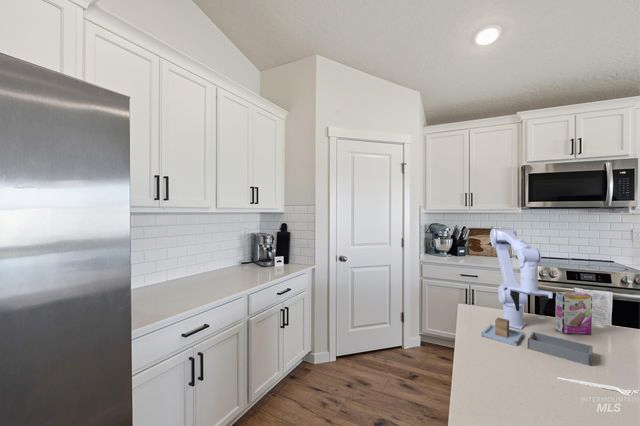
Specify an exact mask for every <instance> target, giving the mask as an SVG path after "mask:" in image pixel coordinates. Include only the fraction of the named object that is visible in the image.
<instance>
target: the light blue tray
mask: <svg viewBox="0 0 640 426" xmlns="http://www.w3.org/2000/svg"><path fill="white" fill-rule="evenodd" d="M481 337H484V338H486V339H490V340H494V341H497V342H501V343H505V344H509V345H512V346H515V347H517V346H518V345H519V343H520V341H521V340H522V339H523V337H524V332H522V331H519V330H514V329H510V328H509V336H508V337H507V338H505V337H502V336H498V335H495V324H494V325H493V324H489V325H488V326H487V327H486V328H484V329H483V330H482V332H481Z"/></svg>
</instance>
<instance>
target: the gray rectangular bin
mask: <svg viewBox="0 0 640 426" xmlns="http://www.w3.org/2000/svg"><path fill="white" fill-rule="evenodd" d="M527 349H529V350H531V351H535V352H538V353H542V354H547V355H551V356H554V357H558V358H561V359H564V360H568V361H571V362H575V363H579V364H582V365H587V366H589V367H591V366H592V362H593V354H594V353H593V352H594V351H593V349H594V347H593V345H589V344H585V343H581V342H576V341H573V340H569V339H564V338H560V337H556V336H553V335H547V334H543V333H540V332H534V331H531V333H530V335H529V336H528V337H527Z"/></svg>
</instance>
